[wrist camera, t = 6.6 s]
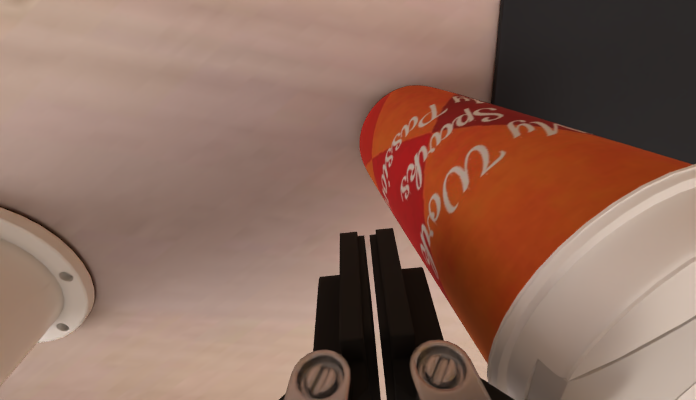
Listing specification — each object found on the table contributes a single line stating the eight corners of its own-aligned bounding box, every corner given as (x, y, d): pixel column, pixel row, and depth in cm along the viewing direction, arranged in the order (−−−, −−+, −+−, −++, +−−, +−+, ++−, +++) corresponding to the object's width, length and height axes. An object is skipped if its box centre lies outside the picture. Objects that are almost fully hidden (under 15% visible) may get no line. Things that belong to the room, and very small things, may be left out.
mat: (479, 234, 25) (481, 238, 25) (504, -39, 17) (507, -39, 17) (746, 207, 25) (752, 210, 24) (905, -91, 16) (918, -93, 16)
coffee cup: (426, 25, 18) (896, 88, 5) (495, 136, 22) (843, 316, 10) (305, 142, 19) (455, 425, 6) (393, 226, 23) (586, 493, 11)
